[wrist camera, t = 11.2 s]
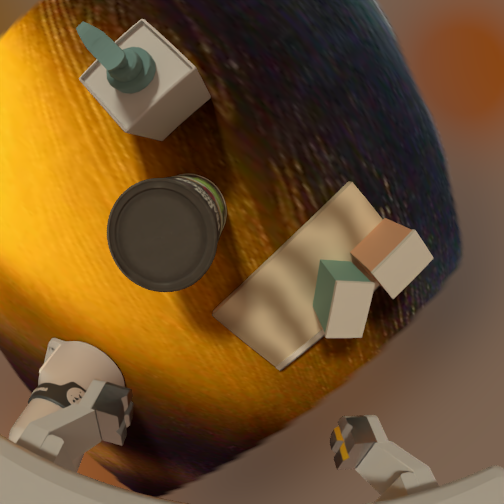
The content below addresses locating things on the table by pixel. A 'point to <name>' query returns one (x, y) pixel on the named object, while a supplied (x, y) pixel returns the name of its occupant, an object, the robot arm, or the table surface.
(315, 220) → the shelf board
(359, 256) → the rust tin
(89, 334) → the table surface
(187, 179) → the coffee can
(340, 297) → the green tin
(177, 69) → the soap bottle
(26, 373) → the table surface
